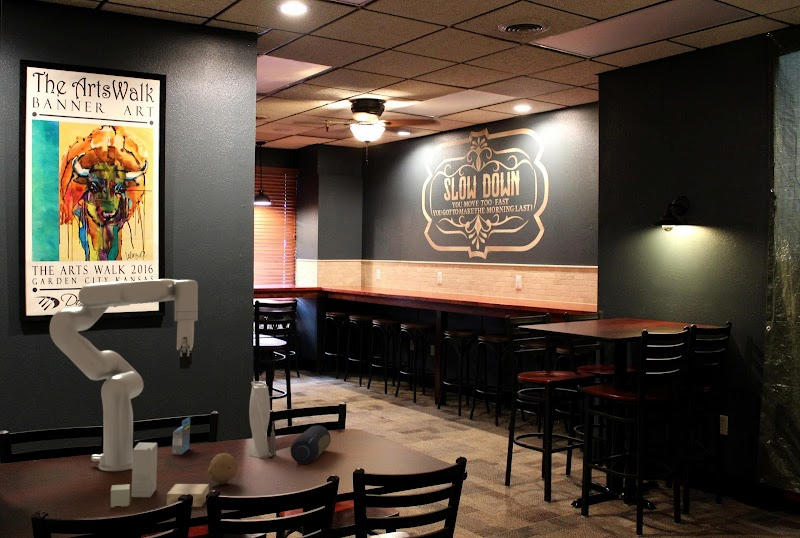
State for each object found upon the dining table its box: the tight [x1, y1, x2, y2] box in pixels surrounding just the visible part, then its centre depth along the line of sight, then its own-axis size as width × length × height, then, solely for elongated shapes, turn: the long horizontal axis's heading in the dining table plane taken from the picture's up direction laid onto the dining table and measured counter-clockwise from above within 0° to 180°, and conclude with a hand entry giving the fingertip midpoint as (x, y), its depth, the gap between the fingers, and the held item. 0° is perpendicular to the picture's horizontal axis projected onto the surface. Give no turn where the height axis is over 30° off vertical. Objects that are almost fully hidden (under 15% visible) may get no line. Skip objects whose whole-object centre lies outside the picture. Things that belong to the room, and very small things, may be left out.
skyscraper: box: [248, 380, 277, 460], centre depth 288 cm, size 8×8×28 cm
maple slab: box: [166, 483, 210, 508], centre depth 233 cm, size 10×10×4 cm
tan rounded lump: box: [206, 452, 238, 485], centre depth 250 cm, size 9×9×10 cm
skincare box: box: [131, 442, 158, 498], centre depth 240 cm, size 8×6×15 cm
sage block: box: [110, 483, 131, 508], centre depth 230 cm, size 5×5×5 cm
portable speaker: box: [289, 424, 332, 465], centre depth 286 cm, size 25×10×10 cm, turn 171°
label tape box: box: [171, 416, 191, 455], centre depth 292 cm, size 9×4×12 cm, turn 178°
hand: (185, 366), depth 267 cm, fingers open, 9 cm apart
